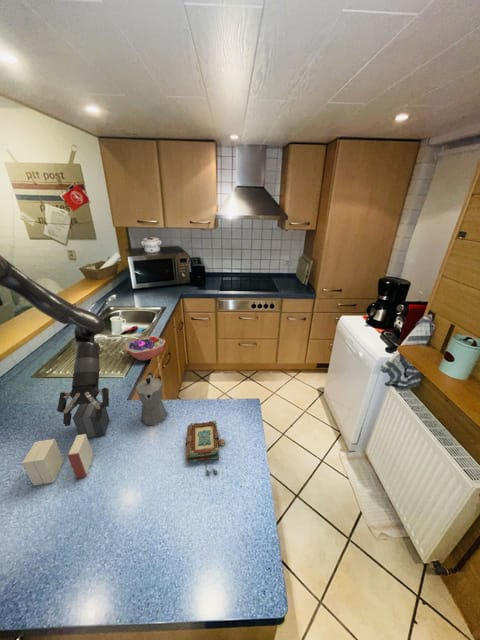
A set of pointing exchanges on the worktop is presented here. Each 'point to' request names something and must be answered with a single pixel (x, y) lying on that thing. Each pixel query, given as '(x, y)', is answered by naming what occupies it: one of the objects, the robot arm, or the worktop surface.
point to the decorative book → (202, 442)
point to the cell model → (145, 347)
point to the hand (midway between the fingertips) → (82, 424)
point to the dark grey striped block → (90, 421)
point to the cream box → (43, 462)
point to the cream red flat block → (80, 456)
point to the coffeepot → (151, 400)
